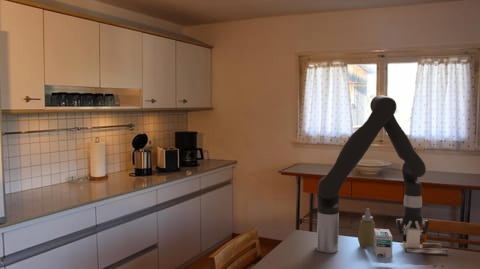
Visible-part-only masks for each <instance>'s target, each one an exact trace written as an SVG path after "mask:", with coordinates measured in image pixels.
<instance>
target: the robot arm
mask: <svg viewBox="0 0 480 269" xmlns="http://www.w3.org/2000/svg"><path fill="white" fill-rule="evenodd" d="M369 105H370V106H369V107H370V110H371V113H370V114H369V116H368V118H367V119H366V121H365V122H364V123H363V124H362V125H361V126H360V127H359V128H357V129H356V130H355V131H354V132H353V133H352V134H351V135H350V136H349V138H348V139H347V141H346V142H345V144H344V145H343V147H342V148H341V150H340V152H339V154H338V156H337V158H336V160H335V163H334V165H333V166H332V168H331V169H330V170H329V171H328V172H327V174H326V175H325V176H322V177H321V178H320V179H319V181H318V185H317V227H316V251H317V252H321V253H326V254H332V253H333V254H334V253H337V252H338V251H339V219H340V218H339V217H340V216H339V214H340V190H341V188H342V186H343V185H344V183H345V182H346V179H347V178H348V176H349V175H350V174H351V173H352V171H353V170H354V169H355V168H356V167H357V165H358V164H359V163H360V162H361V160H362V158H363V157H364V156H365V155H366V153H367V151H368V150H369V148H370V147H371V145H372V144H373V143H374V141H375V139H376V138H377V136H378V135H379V133H380V132H381V130H383V129H384V131H385V132H386V135H387V136H388V138H389V140H390V142H391V143H392V146H393V148H394V151H395V152H396V154H397V156H398V158H399V159H401V160H402V161H404V162H403V164H402V168H401V169H402V170H401V172H402V173H401V174H402V178H403V182H404V197H403V214H402V218H396V219H395V222H396V226H397V227H396V228H397V231H398V232H399V233H400V234H401V235H402V239H401V240H402V242H403V241H404V243H406V233H407V229H409V228H417V229H419V230H420V243H421V242H422V235H426V234H427V231H428V228H429V224H430V222H429V220H427V219H424V218H423V217H422V216H423V213H422V212H423V196H422V194H423V190H422V189H423V186H422V183H421V181H419V180H418V178H421V177H423V176H424V175H425V173H426V170H427V169H426V164H425V162H424V161H423V159H422V158H421V156H419V154H418V153H417V152H416V151H415V149H414V147H413V145H412V142H411V140H410V139H409V138H408V136H407V134H406V132H405V131H404V129H403V128H402V127H401V126H400V124H399V123H398V121H397V119H396V117H395V113H396V111H397V108H398V107H397V101H395V99H393V98H392V97H390V96H386V95H381V94H380V95H376V96H374V97H373V98H372V99H371V101H370V104H369ZM403 223H404V225H403V229H402V224H403ZM420 225H422V228H421V226H420Z"/></svg>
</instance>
